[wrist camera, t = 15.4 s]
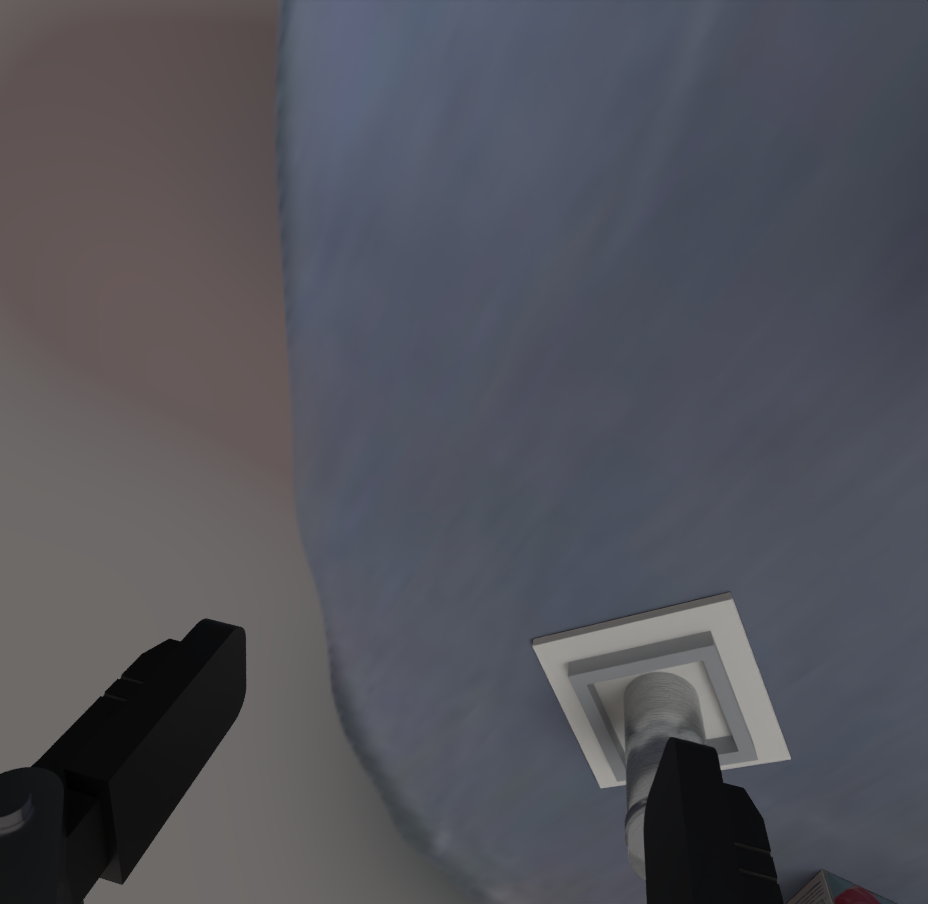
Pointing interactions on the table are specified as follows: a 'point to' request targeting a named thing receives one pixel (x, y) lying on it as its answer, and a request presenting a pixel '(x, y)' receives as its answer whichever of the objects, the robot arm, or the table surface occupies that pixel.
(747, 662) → the duct flange
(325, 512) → the table surface
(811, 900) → the juice carton
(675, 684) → the grey canister
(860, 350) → the table surface
